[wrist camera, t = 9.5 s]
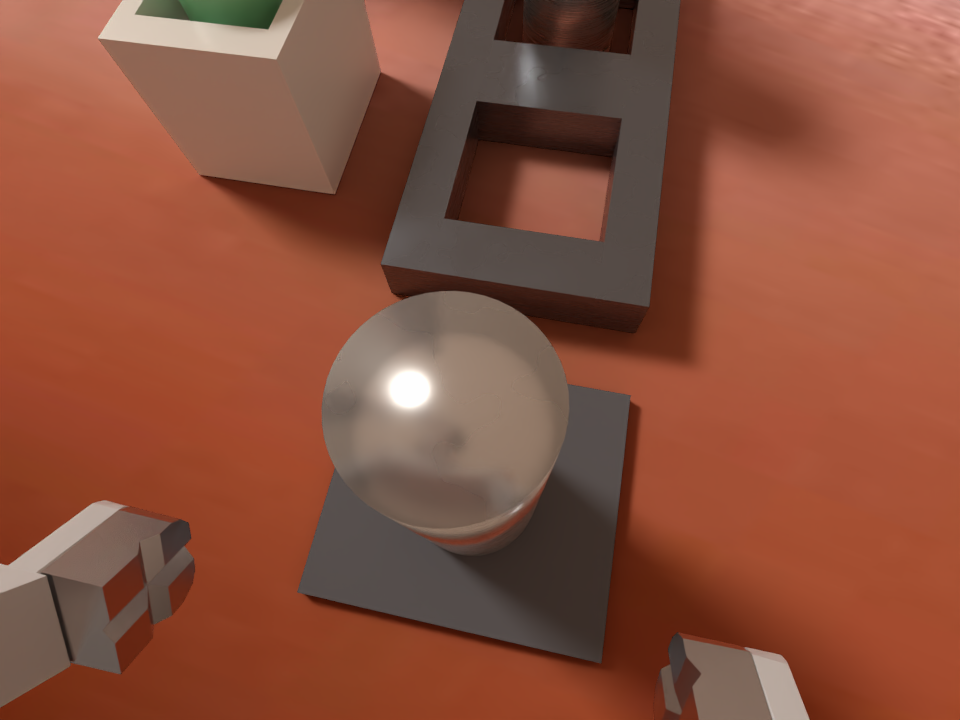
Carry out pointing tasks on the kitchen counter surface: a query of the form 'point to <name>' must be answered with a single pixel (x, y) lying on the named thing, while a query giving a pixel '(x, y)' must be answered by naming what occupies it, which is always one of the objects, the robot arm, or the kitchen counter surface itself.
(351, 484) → the cylinder
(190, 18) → the button
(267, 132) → the cream hollow block
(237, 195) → the kitchen counter surface
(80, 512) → the robot arm
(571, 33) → the cylinder
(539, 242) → the dark grey holder frame
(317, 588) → the mat
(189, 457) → the kitchen counter surface
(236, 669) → the kitchen counter surface
